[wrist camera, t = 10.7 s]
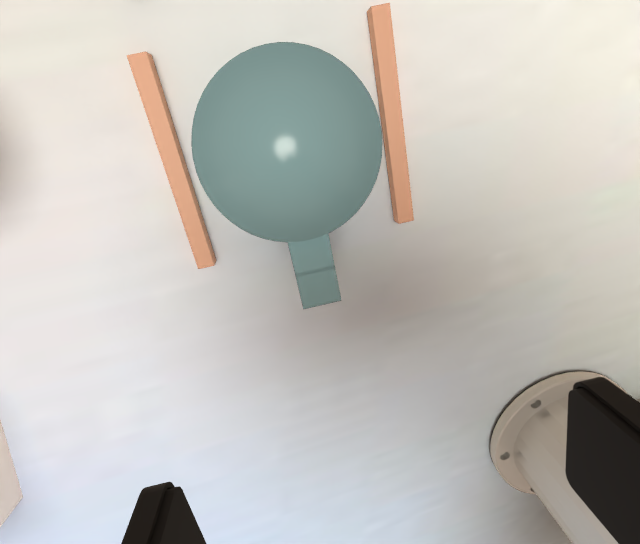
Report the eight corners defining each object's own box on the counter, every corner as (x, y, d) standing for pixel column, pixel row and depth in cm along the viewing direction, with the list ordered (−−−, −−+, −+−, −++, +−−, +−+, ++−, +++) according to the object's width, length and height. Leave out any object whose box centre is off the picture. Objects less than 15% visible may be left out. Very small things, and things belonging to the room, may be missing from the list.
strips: (384, 8, 21) (389, 2, 20) (408, 217, 26) (413, 220, 25) (133, 58, 21) (126, 55, 20) (201, 264, 25) (198, 269, 24)
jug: (336, 57, 22) (367, 23, 15) (367, 250, 26) (403, 294, 19) (198, 86, 22) (163, 64, 15) (252, 277, 26) (245, 331, 19)
